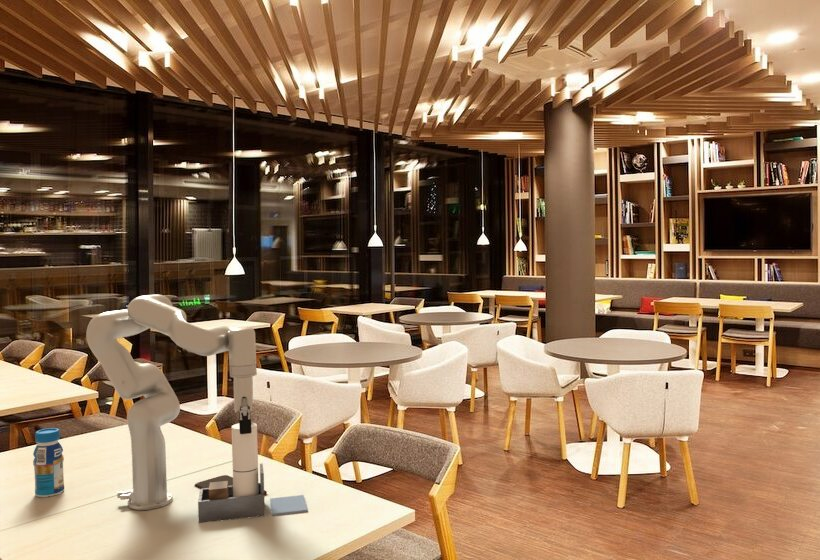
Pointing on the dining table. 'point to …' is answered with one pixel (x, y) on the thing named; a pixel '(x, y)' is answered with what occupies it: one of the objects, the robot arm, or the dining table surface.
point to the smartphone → (217, 479)
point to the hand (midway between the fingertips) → (245, 429)
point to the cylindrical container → (245, 462)
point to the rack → (231, 504)
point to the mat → (288, 505)
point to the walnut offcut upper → (218, 490)
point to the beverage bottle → (48, 463)
